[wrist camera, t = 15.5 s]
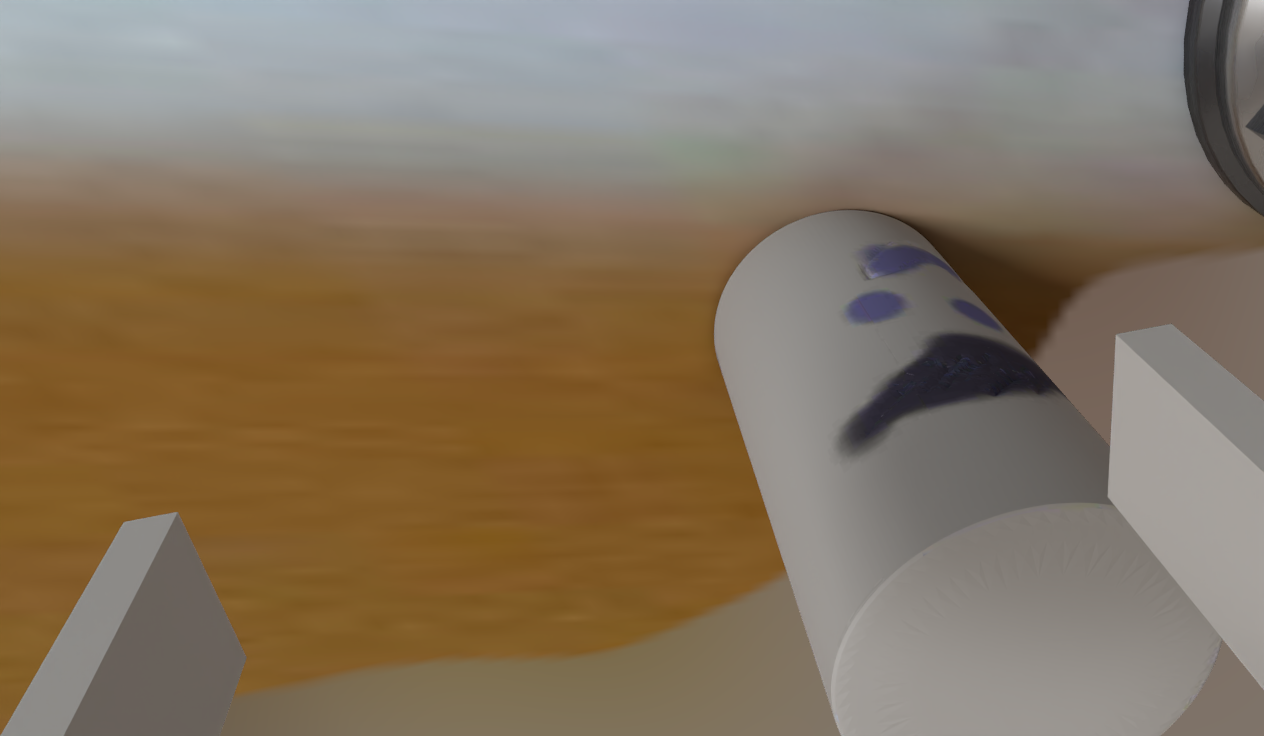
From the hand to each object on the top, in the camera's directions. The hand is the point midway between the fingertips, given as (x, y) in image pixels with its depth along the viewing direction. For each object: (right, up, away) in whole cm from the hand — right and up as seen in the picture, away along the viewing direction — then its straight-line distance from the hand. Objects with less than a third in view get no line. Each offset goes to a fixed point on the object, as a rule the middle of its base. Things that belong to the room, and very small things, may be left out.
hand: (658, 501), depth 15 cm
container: (+8, +4, +29) cm, 31 cm away
